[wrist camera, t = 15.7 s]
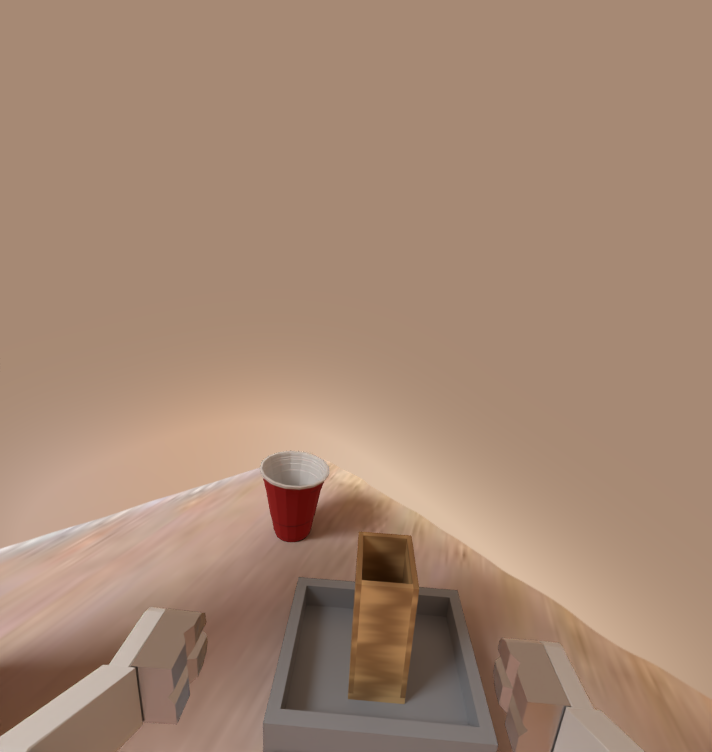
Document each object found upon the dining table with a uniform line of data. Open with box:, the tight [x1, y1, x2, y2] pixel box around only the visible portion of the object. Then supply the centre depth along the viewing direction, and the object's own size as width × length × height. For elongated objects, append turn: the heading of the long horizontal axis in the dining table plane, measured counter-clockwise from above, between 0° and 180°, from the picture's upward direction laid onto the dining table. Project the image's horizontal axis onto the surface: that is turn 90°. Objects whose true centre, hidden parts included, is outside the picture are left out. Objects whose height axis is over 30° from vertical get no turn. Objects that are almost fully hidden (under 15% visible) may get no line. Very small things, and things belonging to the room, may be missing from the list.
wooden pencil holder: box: [348, 532, 419, 704], centre depth 39 cm, size 6×7×14 cm
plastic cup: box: [260, 451, 329, 542], centre depth 60 cm, size 11×11×12 cm
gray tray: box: [263, 577, 498, 752], centre depth 40 cm, size 20×16×4 cm
